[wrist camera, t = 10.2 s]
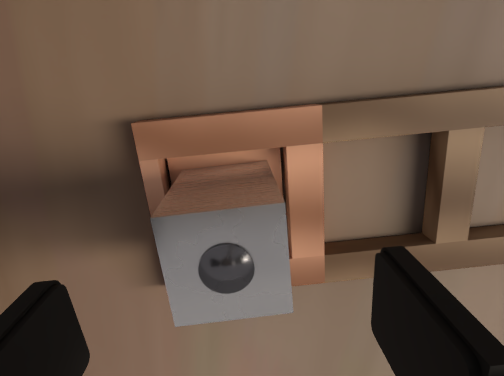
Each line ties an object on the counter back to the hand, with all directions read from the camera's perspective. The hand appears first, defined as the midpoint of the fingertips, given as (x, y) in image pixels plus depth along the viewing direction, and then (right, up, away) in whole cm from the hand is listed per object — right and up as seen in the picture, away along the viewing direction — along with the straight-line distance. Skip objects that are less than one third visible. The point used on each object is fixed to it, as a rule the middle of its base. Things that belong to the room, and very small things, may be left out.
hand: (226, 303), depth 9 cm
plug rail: (+8, +3, +10) cm, 13 cm away
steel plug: (-1, +3, +9) cm, 10 cm away
